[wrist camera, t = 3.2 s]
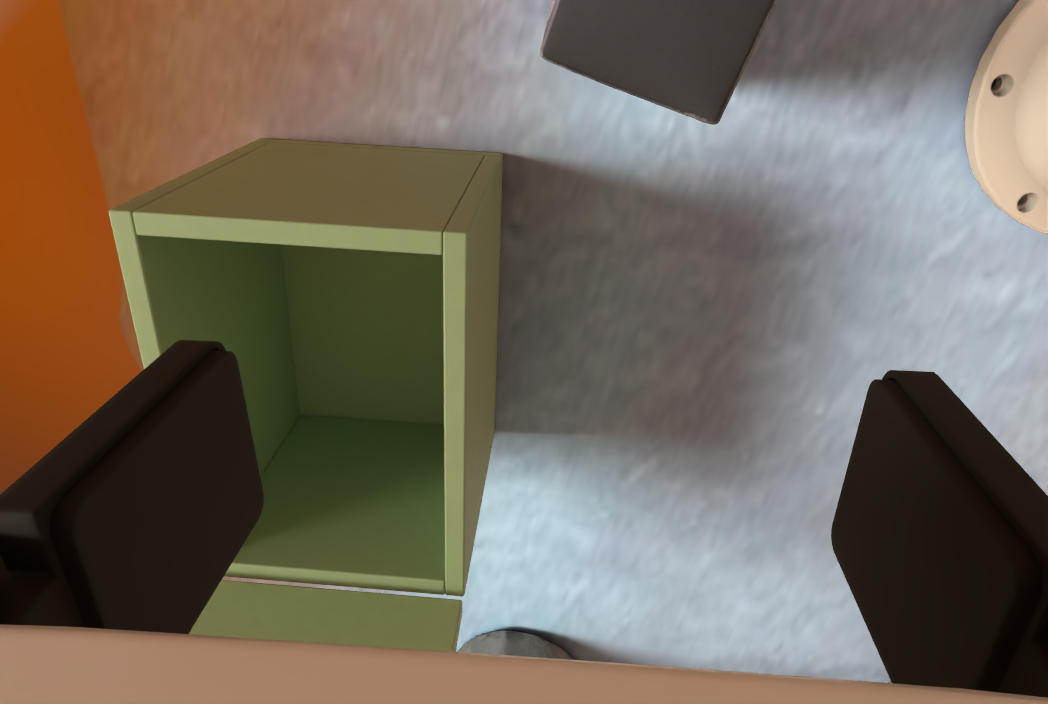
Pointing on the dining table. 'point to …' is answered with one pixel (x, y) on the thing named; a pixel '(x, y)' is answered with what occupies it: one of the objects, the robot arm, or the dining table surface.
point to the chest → (339, 343)
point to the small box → (659, 47)
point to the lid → (330, 616)
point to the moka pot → (514, 645)
